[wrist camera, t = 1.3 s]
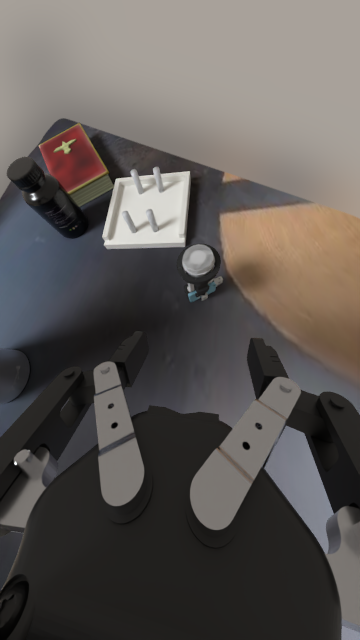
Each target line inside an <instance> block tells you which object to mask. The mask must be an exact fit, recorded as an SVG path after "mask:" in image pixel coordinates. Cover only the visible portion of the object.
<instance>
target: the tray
mask: <svg viewBox="0 0 360 640" xmlns="http://www.w3.org/2000/svg"><path fill="white" fill-rule="evenodd" d="M153 172H154V175H147V176H138V173H137V170H136V169H133V170H131V175H132V177H127V178H117V179H116V181H115V185H114V189H113V193H112V198H111V202H110V206H109V210H108V215H107V219H106V223H105V227H104V231H103V236H102V238H103V239H104V240H105V243H104V246H105V247H106V248H107V249H126V248H163V247H185V243H186V231H187V220H188V209H189V198H190V186H191V179H190V171H188V172H178V173H167V174H160V170H159V167H154V168H153Z"/></svg>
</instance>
